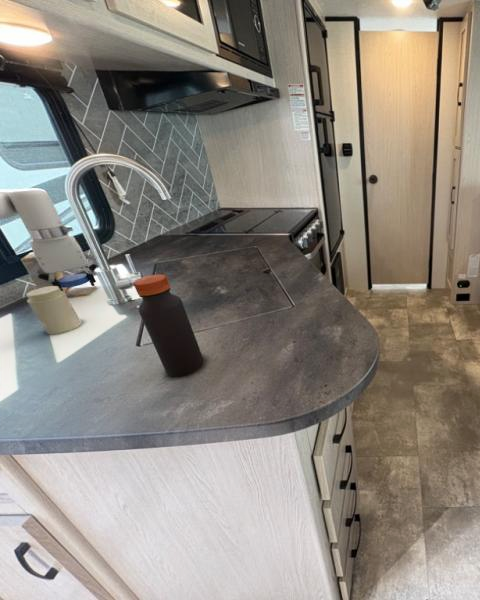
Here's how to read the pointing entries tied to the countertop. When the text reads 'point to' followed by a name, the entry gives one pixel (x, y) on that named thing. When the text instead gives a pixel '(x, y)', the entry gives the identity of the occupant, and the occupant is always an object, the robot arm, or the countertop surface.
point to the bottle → (168, 326)
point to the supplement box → (40, 283)
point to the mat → (80, 291)
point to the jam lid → (73, 280)
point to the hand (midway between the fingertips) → (77, 288)
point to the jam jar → (53, 309)
